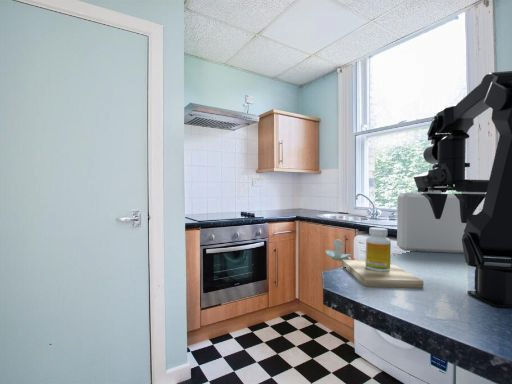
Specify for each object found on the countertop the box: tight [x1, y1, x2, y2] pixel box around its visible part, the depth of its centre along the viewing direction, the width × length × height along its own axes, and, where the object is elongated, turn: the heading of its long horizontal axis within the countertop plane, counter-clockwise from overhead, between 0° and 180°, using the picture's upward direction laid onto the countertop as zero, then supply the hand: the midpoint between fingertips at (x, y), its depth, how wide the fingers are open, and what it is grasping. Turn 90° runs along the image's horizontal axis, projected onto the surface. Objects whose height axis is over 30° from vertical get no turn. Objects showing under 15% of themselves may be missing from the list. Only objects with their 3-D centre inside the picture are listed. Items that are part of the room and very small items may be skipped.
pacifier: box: [325, 238, 352, 262], centre depth 78 cm, size 7×6×6 cm
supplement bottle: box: [365, 227, 392, 272], centre depth 63 cm, size 5×5×10 cm
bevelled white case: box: [396, 192, 466, 254], centre depth 93 cm, size 21×8×20 cm, turn 82°
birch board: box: [341, 259, 424, 289], centre depth 63 cm, size 16×12×2 cm
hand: (450, 220), depth 67 cm, fingers open, 9 cm apart
